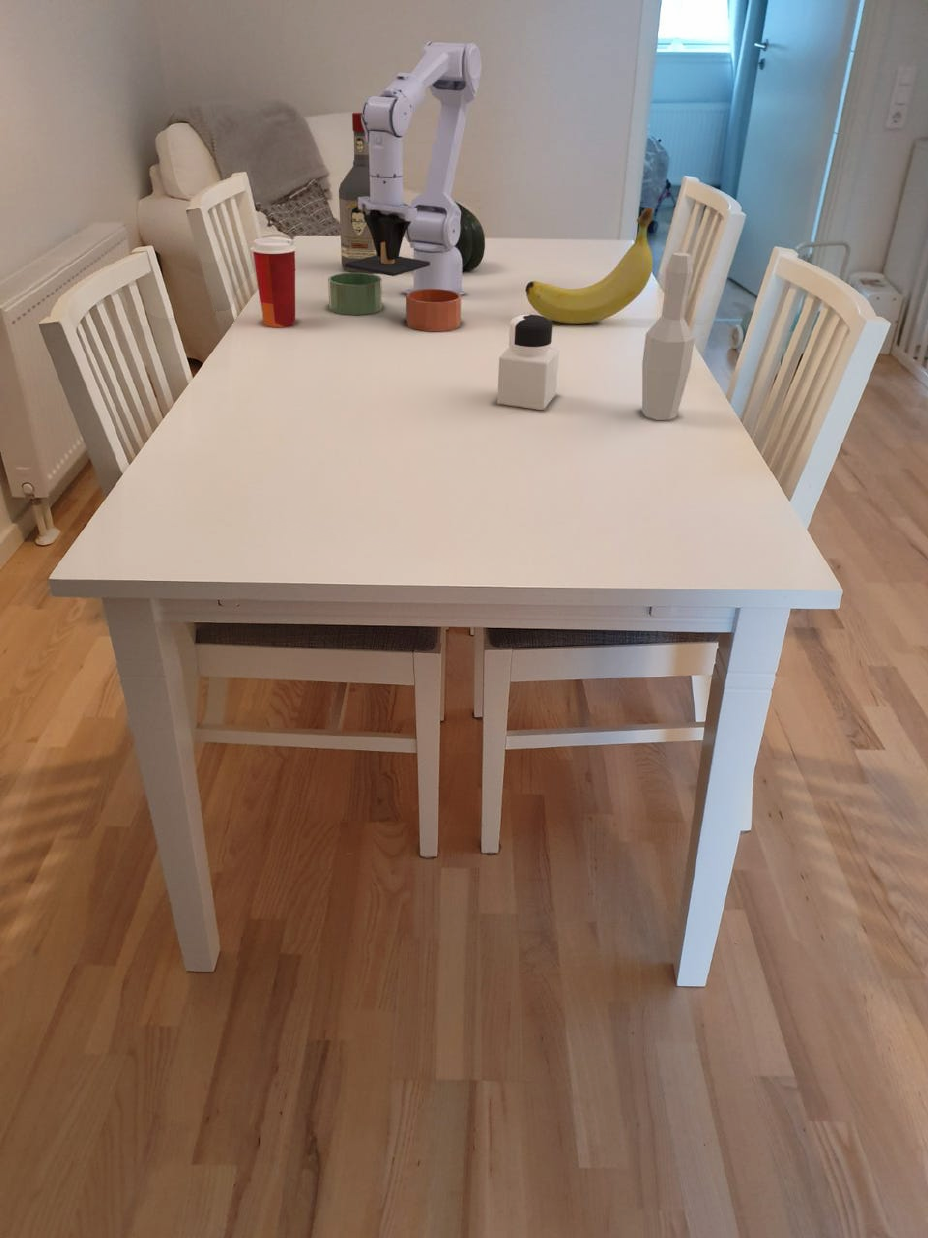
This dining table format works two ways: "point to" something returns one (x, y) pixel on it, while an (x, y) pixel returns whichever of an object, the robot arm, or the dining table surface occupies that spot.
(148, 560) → the dining table surface
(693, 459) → the dining table surface
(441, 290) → the terracotta cup
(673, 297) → the faceted bottle
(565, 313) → the banana
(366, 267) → the dark square pegged slab
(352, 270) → the liquor
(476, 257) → the squash
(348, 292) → the sage cup
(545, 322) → the medicine bottle
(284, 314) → the paper cup
